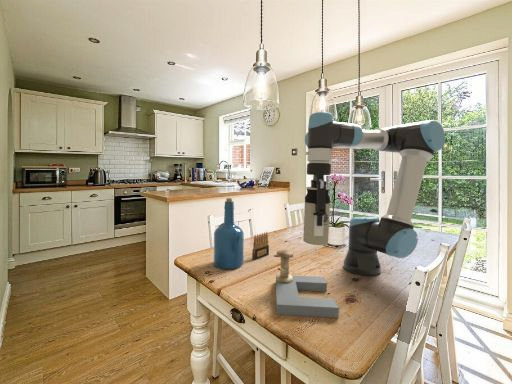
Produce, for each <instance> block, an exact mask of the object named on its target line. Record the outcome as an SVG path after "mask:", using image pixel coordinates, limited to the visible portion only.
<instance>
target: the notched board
mask: <svg viewBox="0 0 512 384" xmlns="http://www.w3.org/2000/svg"><path fill="white" fill-rule="evenodd" d="M290 275H291V276H292V277H293V281H292V282H290V283H281V282H278V281H277V280H276V279H275V302H276V303H275V305H276V307H275V308H276V315H283V316H300V317H301V316H303V317H317V318H321V317H322V318H336V319H337V318H338V319H339V315H340V314H339V312H340V307H339V305H338V303H337V301H336V299H335V298H334V297H333V298H332V297H315V296H314V297H310V296H299V291H310V292H311V291H313V292H314V291H315V292H327V291H328V283H327V280H326V278H325V276H318V275H317V276H313V275H312V276H311V275H295V274H294V275H293V274H290Z"/></svg>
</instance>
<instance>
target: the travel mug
mask: <svg viewBox="0 0 512 384" xmlns="http://www.w3.org/2000/svg"><path fill="white" fill-rule="evenodd" d="M305 189H306V192H307V193H306V194H305V197H304V211H303V237H302V238H303V242H304V243H306V244H308V245H312V246H314V245H315V246H325V245H327V244H328V243H329V233H330V232H329V231H330V230H329V228H330V208H331V207H330V206H331V196H330V195H329V193H330V192H329V191H330V189H331V188H330V187H327V186H326V214H324V225H323V236H314V218H315V215H313V213H316V210H315V205H316V194H315V193H314V191H315V192H316V193H317V188H313V187H311V186H306V187H305Z"/></svg>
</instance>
